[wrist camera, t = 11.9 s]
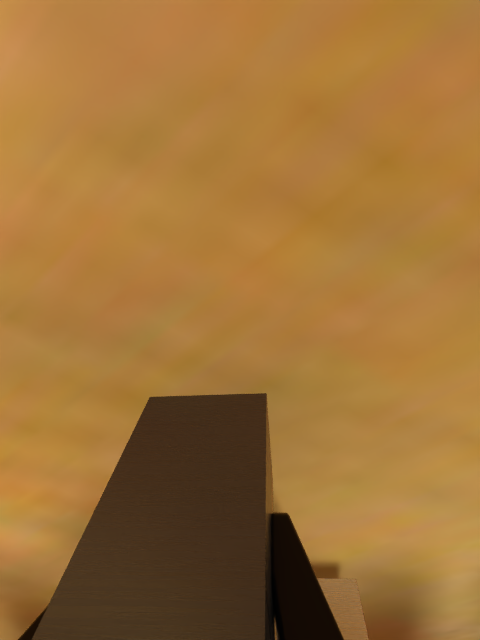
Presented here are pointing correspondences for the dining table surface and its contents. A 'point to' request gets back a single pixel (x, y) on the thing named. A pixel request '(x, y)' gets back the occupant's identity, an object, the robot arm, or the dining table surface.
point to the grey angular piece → (185, 534)
